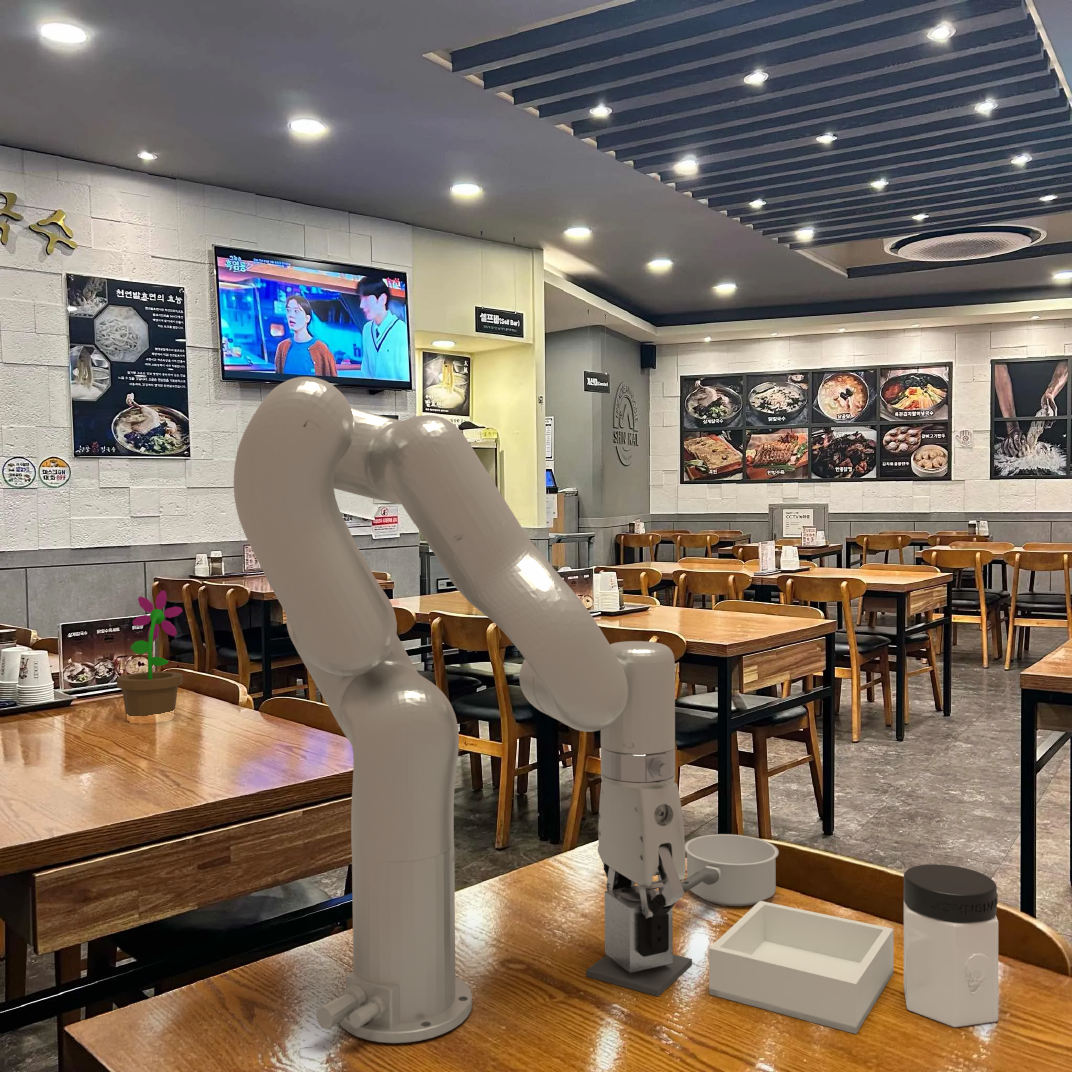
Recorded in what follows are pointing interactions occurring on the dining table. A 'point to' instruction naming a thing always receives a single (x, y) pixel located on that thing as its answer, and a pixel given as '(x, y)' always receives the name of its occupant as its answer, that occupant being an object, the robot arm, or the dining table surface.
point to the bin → (803, 965)
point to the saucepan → (731, 869)
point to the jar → (951, 944)
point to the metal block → (630, 930)
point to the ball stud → (640, 974)
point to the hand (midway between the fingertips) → (638, 940)
